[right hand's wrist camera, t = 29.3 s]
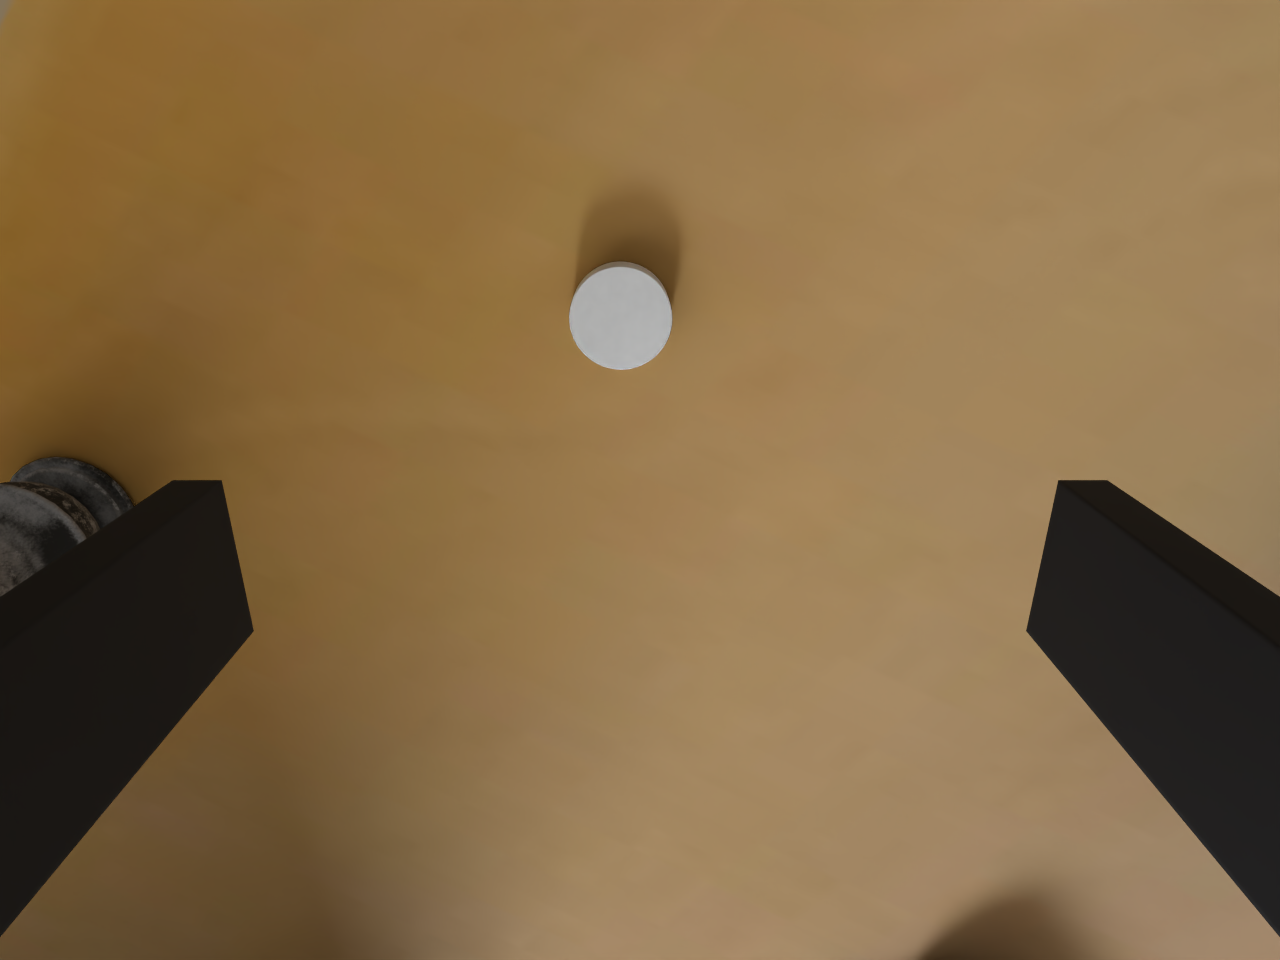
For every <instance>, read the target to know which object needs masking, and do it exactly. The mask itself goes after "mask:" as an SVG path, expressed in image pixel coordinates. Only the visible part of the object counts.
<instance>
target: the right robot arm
mask: <svg viewBox="0 0 1280 960" xmlns="http://www.w3.org/2000/svg"><path fill="white" fill-rule="evenodd" d="M253 631H254V630H253V625H252V621H251V616H250V611H249V607H248V602H247V597H246V593H245V588H244V583H243V578H242V574H241V569H240V564H239V560H238V555H237V550H236V546H235V541H234V536H233V532H232V527H231V522H230V517H229V513H228V508H227V503H226V499H225V494H224V489H223V485H222V480H173V481H171V482H170V483H168V484H167V485H165V486H164V487H162V488H161V489H159V490H158V491H156V492H155V493H153V494H152V495H150V496H149V497H147V498H146V499H144V500H143V501H141V502H140V503H138V504H137V505H136V506H134V507H133V508H131V509H130V510H128V511H127V512H125V513H124V514H122V515H121V516H119V517H118V518H116V519H115V520H113V521H112V522H110V523H109V524H107V525H106V526H104V527H103V528H101V529H100V530H99V531H97V532H96V533H94V534H93V535H91V536H90V537H88V538H87V539H85V540H84V541H82V542H81V543H79V544H78V545H76V546H75V547H73V548H72V549H70V550H69V551H67V552H66V553H64V554H63V555H62V556H60V557H59V558H57V559H56V560H54V561H53V562H51V563H50V564H48V565H47V566H45V567H44V568H42V569H41V570H39V571H38V572H36V573H35V574H33V575H32V576H30V577H29V578H27V579H26V580H24V581H23V582H22V583H20V584H19V585H17V586H16V587H14V588H13V589H11V590H10V591H8V592H7V593H5V594H4V595H2V596H1V597H0V937H1V935H2V934H3V933H4V932H5V931H6V929H7V928H8V927H9V926H10V924H11V923H12V922H13V921H14V920H15V918H16V917H17V916H18V915H19V914H20V912H21V911H22V910H23V909H24V908H25V906H26V905H27V904H28V903H29V902H30V900H31V899H32V898H33V897H34V896H35V894H36V893H37V892H38V891H39V889H40V888H41V887H42V886H43V885H44V883H45V882H46V881H47V880H48V879H49V877H50V876H51V875H52V874H53V873H54V871H55V870H56V869H57V868H58V867H59V865H60V864H61V863H62V862H63V861H64V859H65V858H66V857H67V856H68V854H69V853H70V852H71V851H72V850H73V848H74V847H75V846H76V845H77V844H78V842H79V841H80V840H81V839H82V838H83V836H84V835H85V834H86V833H87V832H88V830H89V829H90V828H91V827H92V826H93V824H94V823H95V822H96V821H97V819H98V818H99V817H100V816H101V815H102V813H103V812H104V811H105V810H106V809H107V807H108V806H109V805H110V804H111V803H112V801H113V800H114V799H115V798H116V797H117V795H118V794H119V793H120V792H121V791H122V789H123V788H124V787H125V786H126V784H127V783H128V782H129V781H130V780H131V778H132V777H133V776H134V775H135V774H136V772H137V771H138V770H139V769H140V768H141V766H142V765H143V764H144V763H145V762H146V760H147V759H148V758H149V757H150V756H151V754H152V753H153V752H154V751H155V749H156V748H157V747H158V746H159V745H160V743H161V742H162V741H163V740H164V739H165V737H166V736H167V735H168V734H169V733H170V731H171V730H172V729H173V728H174V727H175V725H176V724H177V723H178V722H179V721H180V719H181V718H182V717H183V716H184V714H185V713H186V712H187V711H188V710H189V708H190V707H191V706H192V705H193V704H194V702H195V701H196V700H197V699H198V698H199V696H200V695H201V694H202V693H203V692H204V690H205V689H206V688H207V687H208V686H209V684H210V683H211V682H212V681H213V679H214V678H215V677H216V676H217V675H218V673H219V672H220V671H221V670H222V669H223V667H224V666H225V665H226V664H227V663H228V661H229V660H230V659H231V658H232V657H233V655H234V654H235V653H236V652H237V651H238V649H239V648H240V647H241V646H242V644H243V643H244V642H245V641H246V640H247V638H248V637H249V636H250V635H251V634H252V632H253ZM1026 631H1027V632H1028V634H1029V635H1030V636H1031V637H1032V638H1033V640H1034V641H1035V642H1036V643H1037V644H1038V646H1039V647H1040V648H1041V649H1042V651H1043V652H1044V653H1045V654H1046V655H1047V657H1048V658H1049V659H1050V660H1051V661H1052V663H1053V664H1054V665H1055V666H1056V667H1057V669H1058V670H1059V671H1060V672H1061V673H1062V675H1063V676H1064V677H1065V678H1066V679H1067V681H1068V682H1069V683H1070V684H1071V686H1072V687H1073V688H1074V689H1075V690H1076V692H1077V693H1078V694H1079V695H1080V696H1081V698H1082V699H1083V700H1084V701H1085V702H1086V704H1087V705H1088V706H1089V707H1090V708H1091V710H1092V711H1093V712H1094V713H1095V714H1096V716H1097V717H1098V718H1099V719H1100V721H1101V722H1102V723H1103V724H1104V725H1105V727H1106V728H1107V729H1108V730H1109V731H1110V733H1111V734H1112V735H1113V736H1114V737H1115V739H1116V740H1117V741H1118V742H1119V743H1120V745H1121V746H1122V747H1123V748H1124V749H1125V751H1126V752H1127V753H1128V754H1129V756H1130V757H1131V758H1132V759H1133V760H1134V762H1135V763H1136V764H1137V765H1138V766H1139V768H1140V769H1141V770H1142V771H1143V772H1144V774H1145V775H1146V776H1147V777H1148V778H1149V780H1150V781H1151V782H1152V783H1153V784H1154V786H1155V787H1156V788H1157V789H1158V791H1159V792H1160V793H1161V794H1162V795H1163V797H1164V798H1165V799H1166V800H1167V801H1168V803H1169V804H1170V805H1171V806H1172V807H1173V809H1174V810H1175V811H1176V812H1177V813H1178V815H1179V816H1180V817H1181V818H1182V819H1183V821H1184V822H1185V823H1186V824H1187V826H1188V827H1189V828H1190V829H1191V830H1192V832H1193V833H1194V834H1195V835H1196V836H1197V838H1198V839H1199V840H1200V841H1201V842H1202V844H1203V845H1204V846H1205V847H1206V848H1207V850H1208V851H1209V852H1210V853H1211V854H1212V856H1213V857H1214V858H1215V859H1216V861H1217V862H1218V863H1219V864H1220V865H1221V867H1222V868H1223V869H1224V870H1225V871H1226V873H1227V874H1228V875H1229V876H1230V877H1231V879H1232V880H1233V881H1234V882H1235V883H1236V885H1237V886H1238V887H1239V888H1240V889H1241V891H1242V892H1243V893H1244V894H1245V896H1246V897H1247V898H1248V899H1249V900H1250V902H1251V903H1252V904H1253V905H1254V906H1255V908H1256V909H1257V910H1258V911H1259V912H1260V914H1261V915H1262V916H1263V917H1264V918H1265V920H1266V921H1267V922H1268V923H1269V924H1270V926H1271V927H1272V928H1273V929H1274V931H1275V932H1276V933H1277V934H1278V935H1279V937H1280V597H1279V596H1278V595H1276V594H1275V593H1273V592H1272V591H1270V590H1269V589H1267V588H1266V587H1264V586H1263V585H1261V584H1260V583H1258V582H1257V581H1256V580H1254V579H1253V578H1251V577H1250V576H1248V575H1247V574H1245V573H1244V572H1242V571H1241V570H1239V569H1238V568H1236V567H1235V566H1233V565H1232V564H1230V563H1229V562H1227V561H1226V560H1224V559H1223V558H1221V557H1220V556H1218V555H1217V554H1216V553H1214V552H1213V551H1211V550H1210V549H1208V548H1207V547H1205V546H1204V545H1202V544H1201V543H1199V542H1198V541H1196V540H1195V539H1193V538H1192V537H1190V536H1189V535H1187V534H1186V533H1184V532H1183V531H1181V530H1180V529H1179V528H1177V527H1176V526H1174V525H1173V524H1171V523H1170V522H1168V521H1167V520H1165V519H1164V518H1162V517H1161V516H1159V515H1158V514H1156V513H1155V512H1153V511H1152V510H1150V509H1149V508H1147V507H1146V506H1144V505H1143V504H1142V503H1140V502H1139V501H1137V500H1136V499H1134V498H1133V497H1131V496H1130V495H1128V494H1127V493H1125V492H1124V491H1122V490H1121V489H1119V488H1118V487H1116V486H1115V485H1113V484H1112V483H1110V482H1109V481H1107V480H1058V485H1057V489H1056V494H1055V499H1054V503H1053V508H1052V513H1051V517H1050V522H1049V527H1048V532H1047V536H1046V541H1045V546H1044V550H1043V555H1042V560H1041V564H1040V569H1039V574H1038V578H1037V583H1036V588H1035V593H1034V597H1033V602H1032V607H1031V611H1030V616H1029V621H1028V625H1027V630H1026Z"/></svg>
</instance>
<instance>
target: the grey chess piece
mask: <svg viewBox="0 0 1280 960" xmlns="http://www.w3.org/2000/svg"><path fill="white" fill-rule="evenodd" d="M131 508H133V504H132V502H131V500H130V498H129V497H128V496H127V494H126V493H125V492H124V490H123V489H122V488H121V486H120V485H119V484H118V483H116V482H115V481H114V480H113V479H112V478H111V477H110V476H108V475H107V474H106V473H104V472H103V471H101V470H99V469H97V468H96V467H94V466H92V465H90V464H87V463H84V462H81V461H78V460H75V459H71V458H62V457H50V458H43V459H38V460H36V461H34V462H31V463H29V464H27V465H25V466H23V467H22V468H21V469H20V470H19V471H18V472H17V473H15V474H14V475H13V476H12V479H11V481H10V482H5V483H0V597H1V596H2V595H4V594H5V593H7V592H8V591H10V590H11V589H13V588H14V587H16V586H17V585H19V584H20V583H22V582H23V581H24V580H26V579H27V578H29V577H30V576H32V575H33V574H35V573H36V572H38V571H39V570H41V569H42V568H44V567H45V566H47V565H48V564H50V563H51V562H53V561H54V560H56V559H57V558H59V557H60V556H62V555H63V554H64V553H66V552H67V551H69V550H70V549H72V548H73V547H75V546H76V545H78V544H79V543H81V542H82V541H84V540H85V539H87V538H88V537H90V536H91V535H93V534H94V533H96V532H97V531H99V530H100V529H101V528H103V527H104V526H106V525H107V524H109V523H110V522H112V521H113V520H115V519H116V518H118V517H119V516H121V515H122V514H124V513H125V512H127V511H128V510H130V509H131Z"/></svg>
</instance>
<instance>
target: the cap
mask: <svg viewBox="0 0 1280 960" xmlns="http://www.w3.org/2000/svg"><path fill="white" fill-rule="evenodd" d="M569 323H570V329H571V333H572V336H573V338H574V341H575V342H576V344H577V346H578V347H579V349H580V350H581V351H582V352H583V353H584V354H585V355H586V356H587V357H588V358H589V359H591V360H592V361H593V362H595V363H597V364H599V365H601V366H603V367H607V368H611V369H621V370H623V369H631V368H635V367H638V366H641V365H643V364H645V363H647V362H649V361H650V360H651V359H653V358H654V357H655V356H656V355H657V354H658V353H659V352H660V351H661V350H662V348H663V347H664V345H665V344H666V342H667V340H668V338H669V335H670V332H671V327H672V309H671V305H670V301H669V298H668V295H667V292H666V290H665V288H664V286H663V285H662V283H661V282H660V280H659V279H658V278H657V277H656V276H655V275H654V274H653V273H652V272H650V271H649V270H647V269H646V268H644V267H642V266H640V265H638V264H634V263H631V262H621V261H618V262H611V263H607V264H604V265H601V266H599V267H597V268H595V269H594V270H592V271H591V272H590V273H588V274H587V275H586V276H585V277H584V278H583V280H582V281H581V282H580V284H579V285H578V287H577V289H576V291H575V294H574V296H573V299H572V303H571V306H570V313H569Z"/></svg>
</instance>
